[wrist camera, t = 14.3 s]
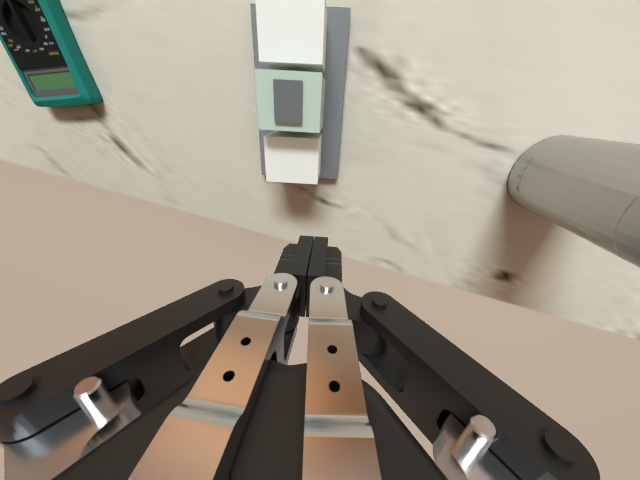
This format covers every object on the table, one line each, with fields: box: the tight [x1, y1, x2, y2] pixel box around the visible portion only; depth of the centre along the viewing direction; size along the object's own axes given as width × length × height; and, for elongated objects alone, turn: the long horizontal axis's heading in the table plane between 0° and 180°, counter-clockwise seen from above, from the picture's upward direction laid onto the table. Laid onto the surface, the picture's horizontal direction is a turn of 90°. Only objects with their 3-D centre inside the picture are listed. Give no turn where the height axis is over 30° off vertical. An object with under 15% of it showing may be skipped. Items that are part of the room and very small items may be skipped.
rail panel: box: [250, 0, 351, 184], centre depth 26 cm, size 10×17×8 cm, turn 177°
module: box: [255, 69, 325, 133], centre depth 24 cm, size 6×4×8 cm
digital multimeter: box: [0, 0, 102, 107], centre depth 26 cm, size 7×15×3 cm, turn 4°
